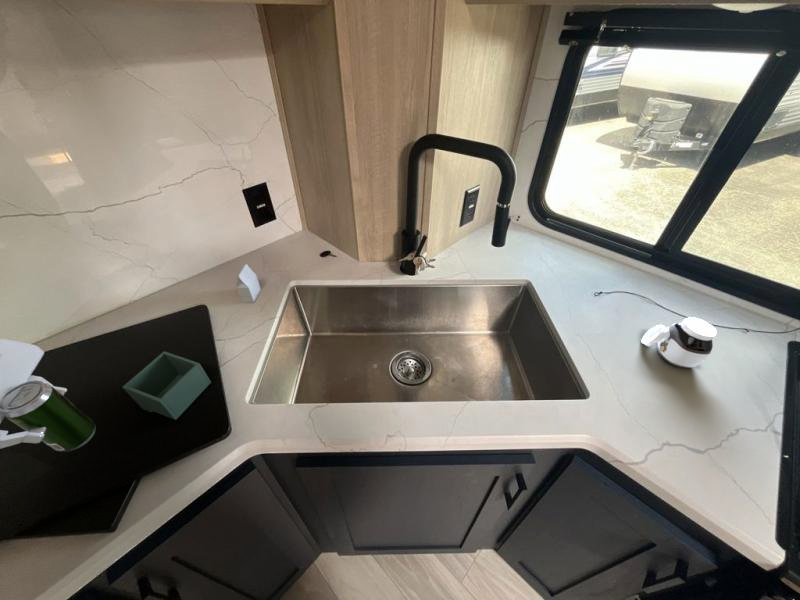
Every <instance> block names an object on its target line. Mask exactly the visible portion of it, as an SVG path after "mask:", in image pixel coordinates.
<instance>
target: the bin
mask: <svg viewBox="0 0 800 600" xmlns="http://www.w3.org/2000/svg"><path fill="white" fill-rule="evenodd" d="M211 383H212V381H211V380H210V378H209V376H208V374H207V373H206V371H205V370H204V368H203V367H202V365H201V363H200V362H197V361H194V360H192V359H189V358H185V357H182V356H179V355H177V354H173V353H171V352H169V351H165V350H164V351H163V352H161V353H160V354H159V355H158V356H156V357H155V358H154V359H153V360H152V361H151V362H150V363H148V364H147V365H146V366H144V368H143V369H142V370H140V371H139V372H138V373H137V374H135V375H134V376H133V377H132V378H131V379H130V380H128V381H127V382H126V383H125V384H124V385H122V387H121V388H122V389H123V390H124V391H125V392H126V393H127V394H128V395H129V396H130V397H131V398H132V399H133V401H135V403H136V404H137V405H138V406H139V407H140V408H141V409H142V410H144V411H146V410H147V411H146V412H149V413H151V412H152V413H153V412H154V413H156V414H159V415H162V416H164V417H166V418H169V419H171V420H174V421H177V420H178V419H179V417H180V416H181V415H182V414H183V413H184V412H185V411H186V410H187V409H188V408H189V407H190V406H191V405H192V403H194V401H195V400H196V399H197V398H198V397H199V396H200V395H201V394H202V393H203V392H204V391H205V389H207V388H208V386H209V385H210V384H211Z"/></svg>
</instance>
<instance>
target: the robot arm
mask: <svg viewBox="0 0 800 600" xmlns="http://www.w3.org/2000/svg"><path fill="white" fill-rule="evenodd" d="M44 355H45V351H44V350H43V349H42V348H41V347H39V346H38V345H36V344H33V343H28V342H23V341H18V340H13V339H9V338H8V339H7V338H3V337H2V338H1V337H0V406H1V408H2V407H3V401H4V399H5V398H6V396H7V395H6V396H4V395H5V393H7V392H8V391H9V390H11V389H12V388H14V387H16V386H18V385H20V384H22V383H25V382H28V381H34V380H38V381H42V382H44V383H47V384H49V385H51V386H52V387H53V388H54V389H56V390H57V391H58V392H59V393H60V394H62V395H63V396H64V397H65V395H66V394H67V391H68V389H67V388H66V387H61V386H56V385H53V384H52V383H51V382H49V381H48V380H46V379H45V378H44V377H42V376H39V375H33V372H34V371H35V370H36V368H37V367H38V365H39V363H40V362H41V360H42V358H43V357H44ZM8 395H9V394H8ZM3 396H4V397H3ZM4 419H5V417H4V415H3V414H2V412H1V411H0V424H1V423H2V422H3V421H4ZM46 431H47V428H46V427H38V426H31V427H30V428H29V430H28V431H25V430H23V431H20V432H15V433H11V434H8V433H9V430H3V429H0V449H4V448H8V447H12V446H15V445H18V444H21V443H26V444H27V443H28V444H40V443H41V442H42V441H41V440H42V439H43V437H44V435H45V433H46Z"/></svg>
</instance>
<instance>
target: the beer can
mask: <svg viewBox="0 0 800 600" xmlns="http://www.w3.org/2000/svg"><path fill="white" fill-rule="evenodd" d="M8 394H9V395H8ZM6 395H7V396H6ZM4 396H6V398H5V399H4V401H3V407H2V408H1V406H0V411H1V412H2V414H3V415H4V419H7V420H8V421H10V422H12V423H13V424H15V426H17V427H19V428H21V429H22V430H23V431H28V430H29V428H30V427H31V426H38V427H46V428H47V431H46V433H45V435H44V437H43V439H42V440H41V442H42V443H44V444H46V446H48V447H50V448H52V449H53V450H54V451H56V452H61V453H62V452H66V453H67V452H73V451H75V450H78V449H79V448H81V447H83V446H84V445H86V444H88V442H89V441H91V439H92V438H93V437H94V435H95V433H96V431H97V430H96V429H97V428H96V427H97V426H96V422H95V421H94V420H93V419H92V418H91V417H90V416H89V415H87V414H86V413H84V412H83V411H82V410H81V409H80V408H78V406H77V405H75V404H74V403H73V402H71V401H70V400H69V399H68V398H67V397H65V395H64V396H63V395H62V394H60V393H59V392H58V391H57V390H56V389H54V388H53V387H52V386H51V385H49V384H47V383H44V382H42V381H38V380H34V381H28V382H25V383H22V384H20V385H18V386H16V387H14V388H12V389H11V390H9V391H8V392H7V393H5V395H4ZM4 396H3V397H4Z"/></svg>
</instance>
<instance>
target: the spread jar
mask: <svg viewBox="0 0 800 600" xmlns="http://www.w3.org/2000/svg"><path fill="white" fill-rule="evenodd" d="M716 336H718V331H717V329H716V327H714V325H712V324H710V323H709V322H708V321H706V320H704V319H701V318H698V317H691V316H690V317H686V318H684V319H683V320H682V321H681V322H675V323H673V324H670V325H669V326H668V327H666V326H665V325H663V324H657V325H655V326H652V327H651V328H650V329H648V330H647V331H646V332H645V333H644V335H643V336H642V338H641V344H643V345H644V346H646V347H653V346H655V345H657V353H658V354H660V355H659V356H660V357H661V358H662V360H664V362H666V361H667V362H666V363H668V364H670V365H672V366H675V367H679V368H684V369H685V368H696V367H698V366H699V365H700V364H702V363H703V362H704V361H705V360H706V359H707V358H708V357H709V355H710V354H711V353H712V351H713V347H714V343H713V340H714V338H716Z"/></svg>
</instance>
